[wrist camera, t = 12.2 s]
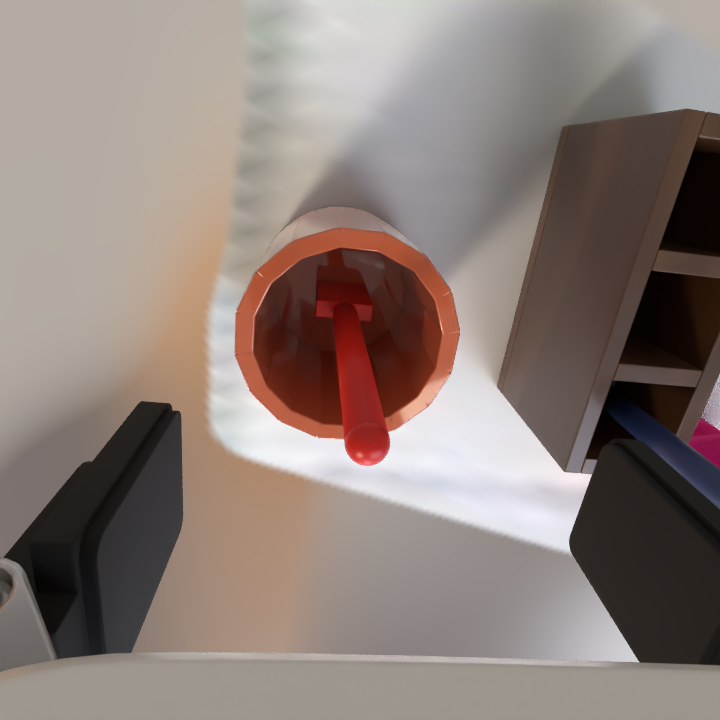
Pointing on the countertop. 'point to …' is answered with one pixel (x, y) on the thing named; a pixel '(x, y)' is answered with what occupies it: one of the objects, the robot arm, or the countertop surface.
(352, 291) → the red toy mallet
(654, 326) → the caddy
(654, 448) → the blue rounded rod
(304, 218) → the crock
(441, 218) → the countertop surface
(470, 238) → the countertop surface
